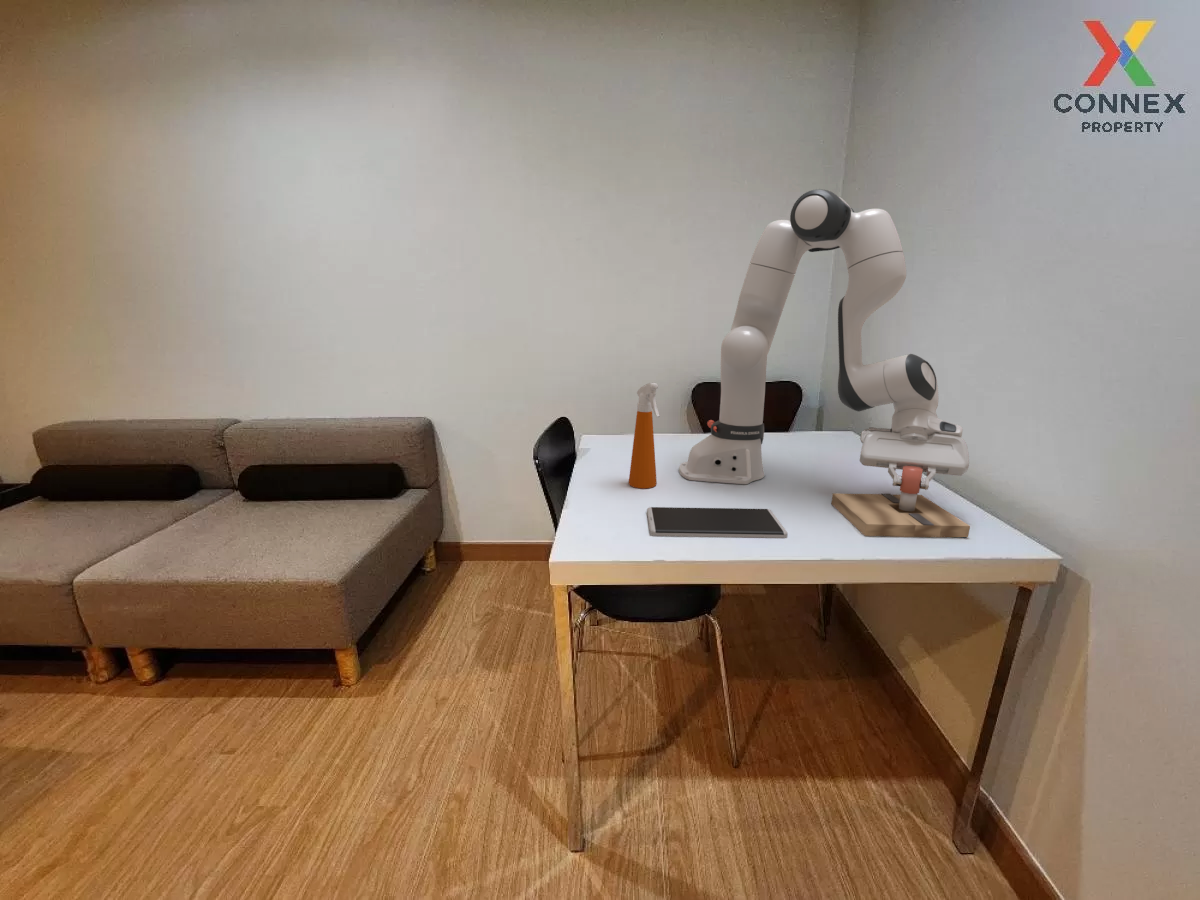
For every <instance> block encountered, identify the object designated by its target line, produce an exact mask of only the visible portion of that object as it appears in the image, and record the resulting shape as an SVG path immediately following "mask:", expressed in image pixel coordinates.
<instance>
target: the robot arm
mask: <svg viewBox="0 0 1200 900" xmlns="http://www.w3.org/2000/svg"><path fill="white" fill-rule="evenodd" d="M789 215H790V218H789V220H788V219H777V220H774V221H771V222H769V223H768V224H767V225H766V227H764V230H763V232H762V233H761V235H760V237H759V240H758V242H757V243H756V246H755V248H754V250H753V253H752V256H751V259H750V263H749V264H748V269H747V271H746V273H745V278H744V281H743V284H742V287H741V290H740V293H739V296H738V300H737V301H738V302H737V305H736V310H735V313H734V318H733V320H732V325H731V327H730V330H729V332H728V333H726V335H725V336H724V338H723V340H722V343H721V346H720V404H719V419H718V420H717V421H714V420H712V419H710V420H709V419H708V421H707V423H706V424H707V426H708V428H710V434H709V435H708V436H706V437H705V438H704V439H702V440H701V441H699V442H698V443H696V444H695V445H692V447H691V449H690V450H689V453H688V457H687V461H683V462H682V463H680V465H679V468H678V472H679V475H680V476H681V477H683V478H684V479H686V480H689V481H696V482H698V481H699V482H710V483H711V482H712V483H724V484H725V483H726V484H735V485H736V484H737V485H748V484H751V482H754V481H758V480H761V479H763V478H765V476H766V475H765V471H764V464H763V457H762V456H763V454H762V444H764V443H763V441H764V437H765V423H763V421H764V410H765V409H764V408H765V398H766V397H765V396H766V378H767V365H768V364H767V363H768V355H769V352H770V349H771V348H772V347H771V346H772V344H773V340H774V338H775V334H776V331H777V328H778V325H779V323H780V319H781V316H782V313H783V311H784V307H785V305H786V303H787V299H788V295H789V292H790V290H791V288H792V284H793V281H794V279H795V275H796V273H797V269H798V267H799V265H800V261H801V260H802V257H803V256H804V255H805V253H807V251H808V252H810V253H816V252H825V251H833V250H836V249H839V248H840V249H841V250H842V252H843V256H844V258H845V263H846V269H847V273H848V274H847V275H848V283H847V288H846V292H845V294H844V296H843V297H842V298H841V299H840V301H839V302H838V303H839V304H838V309H837V334H838V335H837V338H838V339H837V341H838V366H839V367H838V379H837V394H838V398H839V400H840V402H841V403H842V404H843V405H844V406H846V407H847V408H849V409H851V410H853V411H855V412H862V411H866V410H869V409H872V408H876V407H879V406H880V407H881V406H883V405H891V404H893V408H894V413H893V414H892V416H891V428H887V427H884V428H883V427H874V426H873V427H868V428H865V429H864V430H862V431H861V432H860V442H861V443H862V446H861V451H860V456H859V462H860V464H861V465H862V466H865V467H874V468H875V467H876V468H884V469H887V473H888V474H889V476H890V478H891V479H892V486H893V487H895V486H896V487H900V486H901V482H902V480H901V479H902V475H898V474H897V472H896V471H897V470H902V471H903V466H916V467H920V468H922V469H923V471H922V473H926V477H925V478H923V477H922V478H921V484H920V490H927V491H928V489H929V488H930V487H929V486H930V482H931V481H932V480H933V479H934V478H935V475H936V474H939V475H949V476H956V477H961V476H963V475H965V474H966V473H967V472H968V469H969V466H970V456H969V450H968V444H967V442H966V440H965V439H964V438H962V437H963V431H964V429H963V427H962V426H961V425H959V424H957V423H953V422H950V421H947V420H943V419H941V418H938V415H937V409H938V406H939V388H938V387H939V386H938V380H937V376H936V373H935V370H934V368H933V367H932V365H931V364H930V362H928V361H927V360H925V359H924V358H922V357H920V356H918V355H917V354H914V353H910V354H905V355H899V356H896V357H895V356H894V357H891V358H887V359H884V360H882V361H875V362H872V363H868V364H864V363H863V354H862V348H863V347H862V329H863V326H864V325H865V322H866V321H867V319H868V318H869V317H870V316H871V315H872V314H873V313H875V312H876V311H877V310H879V309H880V308H882V307H883V306H884V305H886V304H887V303H888V302H889V301H891V300H892V299H893V298H894V297H895V296H896V295H897V294H898V293H899V292H900V290H901V289H902V287H903V285H904V284H905V281H906V278H907V266H906V258H905V254H904V249H903V246H902V241H901V239H900V238H901V237H900V235H899V233H898V230H897V228H896V225H895V222H894V221H893V219H892V216H891V214H890V213H889V212H888V211H887V210H885V209H883V208H869V209H864V210H861V211H859V212H855V211H854V209H853V208H852V207H851V206H850V205H849V204H848V202H847V201H846V200H845V199H844V198H842V197H841V196H839V195H837V194H836V193H835V192H832V191H831V190H828V189H821V188H818V189H812V190H809V191H806V192H805V193H803V194H801V196H799V197H798V198H797V200H796V201H795V203H794V204H793V206H792V208H791V211H790V214H789Z"/></svg>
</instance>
